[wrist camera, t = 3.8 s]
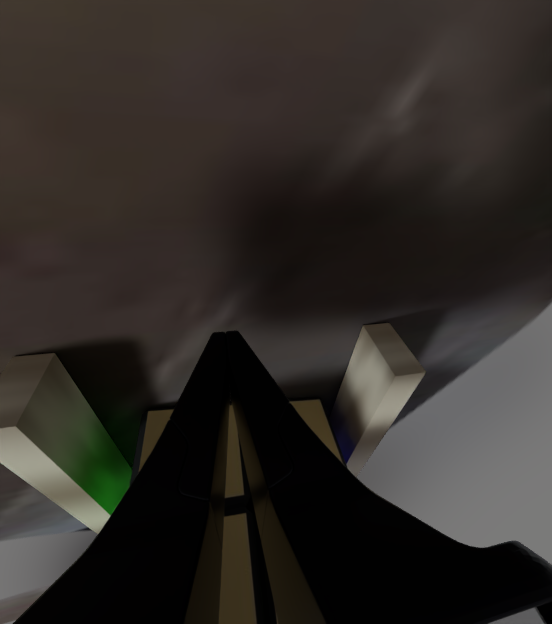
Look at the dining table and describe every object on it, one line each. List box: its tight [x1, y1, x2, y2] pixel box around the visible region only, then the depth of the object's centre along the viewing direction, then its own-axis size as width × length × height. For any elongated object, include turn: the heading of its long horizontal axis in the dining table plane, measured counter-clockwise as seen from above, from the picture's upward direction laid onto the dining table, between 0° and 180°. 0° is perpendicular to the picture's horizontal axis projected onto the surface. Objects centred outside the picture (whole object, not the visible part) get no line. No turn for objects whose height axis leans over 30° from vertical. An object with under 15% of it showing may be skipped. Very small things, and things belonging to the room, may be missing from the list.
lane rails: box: [0, 323, 426, 534], centre depth 15 cm, size 12×16×3 cm
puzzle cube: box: [129, 398, 347, 624], centre depth 15 cm, size 10×10×10 cm
